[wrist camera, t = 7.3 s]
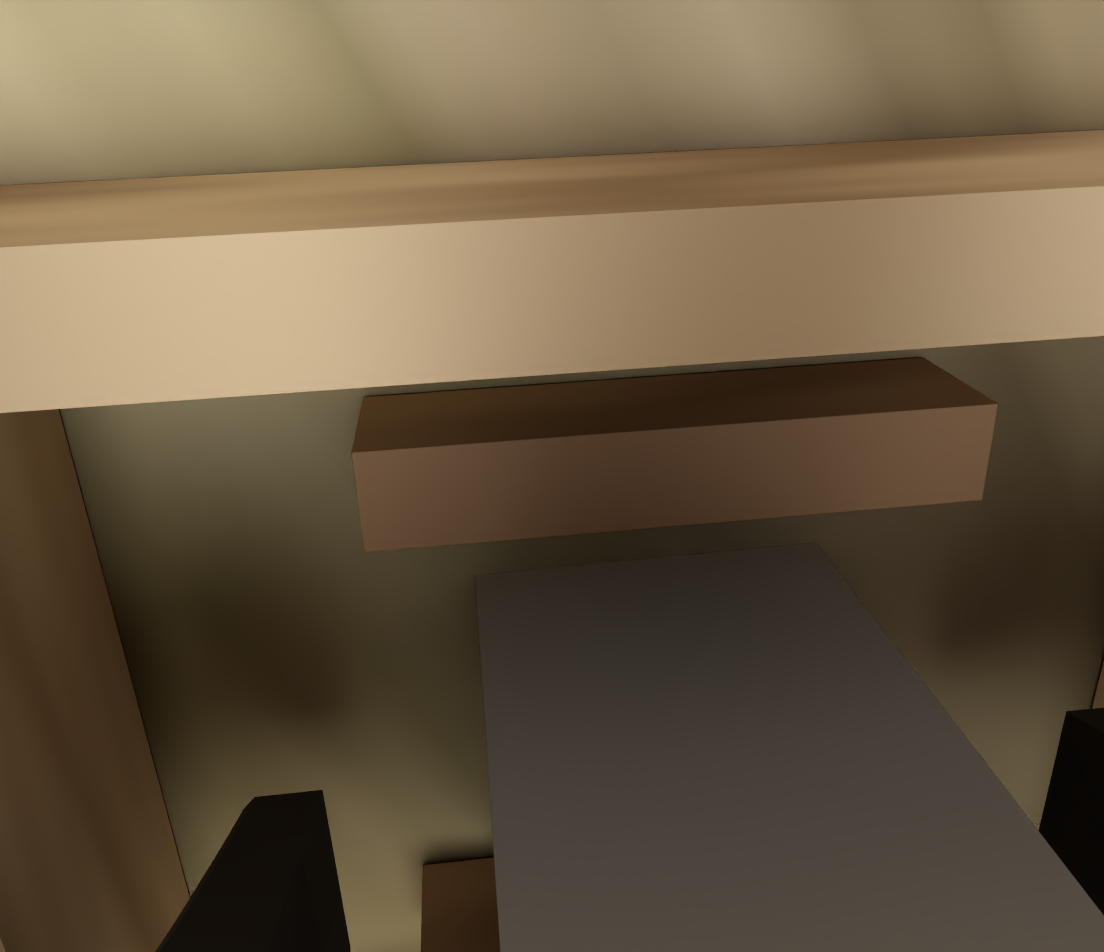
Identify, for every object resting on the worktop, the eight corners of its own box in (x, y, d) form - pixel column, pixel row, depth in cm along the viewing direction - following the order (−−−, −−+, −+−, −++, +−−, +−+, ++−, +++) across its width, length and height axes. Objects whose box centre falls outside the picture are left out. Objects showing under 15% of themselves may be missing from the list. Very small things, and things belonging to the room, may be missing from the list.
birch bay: (1326, 118, 10) (1764, 149, 6) (1092, 948, 15) (1276, 1197, 11) (-119, 191, 8) (-455, 273, 5) (160, 1067, 13) (72, 1384, 10)
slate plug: (814, 542, 11) (1290, 1156, 5) (794, 803, 13) (1130, 1508, 7) (474, 574, 11) (523, 1274, 5) (499, 837, 12) (558, 1613, 6)
